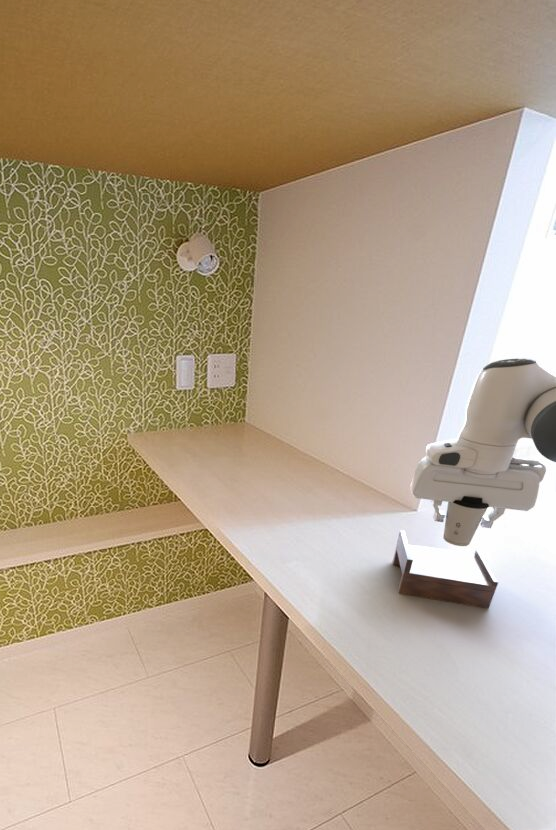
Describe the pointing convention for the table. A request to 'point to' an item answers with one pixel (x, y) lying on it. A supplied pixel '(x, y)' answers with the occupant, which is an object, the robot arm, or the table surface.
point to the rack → (444, 574)
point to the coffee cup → (463, 520)
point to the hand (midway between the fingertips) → (461, 523)
